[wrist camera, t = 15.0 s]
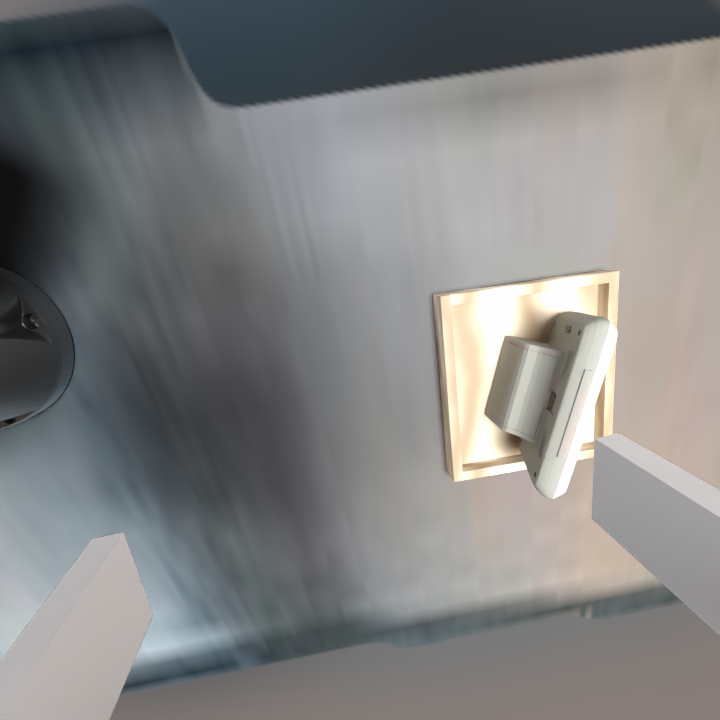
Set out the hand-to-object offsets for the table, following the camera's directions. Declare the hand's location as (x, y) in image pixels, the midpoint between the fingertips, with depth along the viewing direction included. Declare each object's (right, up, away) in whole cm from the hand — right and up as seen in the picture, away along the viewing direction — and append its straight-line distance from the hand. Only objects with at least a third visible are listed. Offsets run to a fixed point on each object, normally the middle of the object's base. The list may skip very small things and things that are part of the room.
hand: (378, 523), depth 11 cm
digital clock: (+18, +2, +31) cm, 36 cm away
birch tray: (+17, +3, +32) cm, 36 cm away
